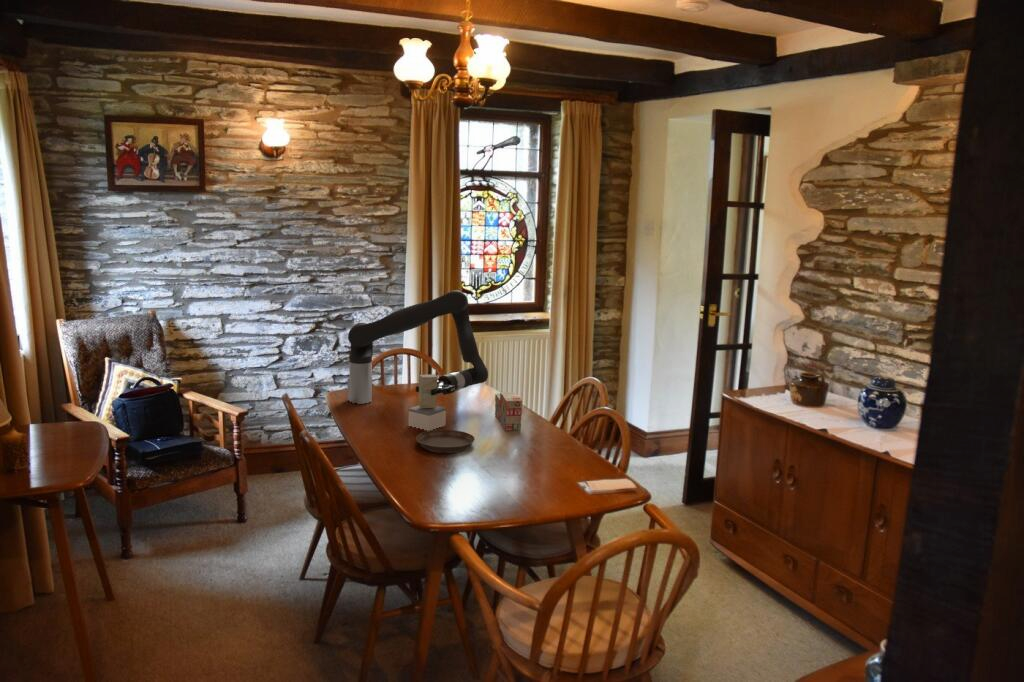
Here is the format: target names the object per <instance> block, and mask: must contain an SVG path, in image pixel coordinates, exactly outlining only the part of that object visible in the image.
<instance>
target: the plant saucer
mask: <svg viewBox="0 0 1024 682" xmlns="http://www.w3.org/2000/svg"><path fill="white" fill-rule="evenodd" d="M415 440H416V441H417V443H418V444H419V445H420V447H422V448H423V449H424V450H426V451H429V452H433V453H439V454H453V453H458V452H459V453H460V452H463V451H465V450H467V449H468V448H470V447H471V446H472V444H473V443H474V442H475V440H476V439H475V436H474V435H473V434H471V433H469V432H465V431H461V430H455V429H434V430H431V431H426V430H425V431H423V432H420V433H419V434H417V436H416V437H415Z"/></svg>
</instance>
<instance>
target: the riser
mask: <svg viewBox="0 0 1024 682" xmlns="http://www.w3.org/2000/svg"><path fill="white" fill-rule="evenodd" d="M446 417H447V408H446V407H444V406H440V405H436V407H435V408H421V407H420V406H419V405H418V404H417V405H416V406H412V407H409V408H408V427H410V426H412V427H411V428H414V427H416V428H415V429H418V428H420V429H419V430H422V429H424V430H423V431H426V430H427V431H430V430H431V431H432V430H433V429H434V430H437V429H439V427H440V428H442V427H445V426H446V425H447V424H446V420H447V419H446ZM436 428H437V429H436Z"/></svg>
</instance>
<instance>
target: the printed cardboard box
mask: <svg viewBox="0 0 1024 682" xmlns="http://www.w3.org/2000/svg"><path fill="white" fill-rule="evenodd" d="M494 402H495V403H494V407H495V409H494V410H495V411H494V416H495V415H496V416H495V417H497V418H496V419H497V421H498V420H499V421H498V422H499V424H500V423H501V424H500V426H501V427H502V429H503V431H504V430H505V431H504V432H514V431H513V430H520V431H521V429H522V428H521V427H522V412H523V411H522V408H523V399H521V397H520V396H519V395H518V393H516V392H515V391H510V392H509V391H508V392H507V391H501V392H500V393H495V397H494Z"/></svg>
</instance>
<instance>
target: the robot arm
mask: <svg viewBox="0 0 1024 682" xmlns="http://www.w3.org/2000/svg"><path fill="white" fill-rule="evenodd" d="M469 312H470V311H469V299H468V297H467V295H466V294H465V293H464V292H462V291H461V290H456V289H455V290H451V291H448V292H447V293H445V294H442V295H440V296H438V297H436V298H433V299H432V300H428V301H427V300H426V301H424V302H420V303H416V304H413V305H408V306H406V307H404V308H403V307H402V308H401V309H398V310H395V311H393V312H392V313H389V314H387V315H386V316H384V317H382V318H380V319H378V320H376V321H372V322H368V323H366V322H357V323H355V324H354V325H353V326H352V327H351V328H350V330H349V332H348V335H347V337H348V338H347V339H348V342H349V343H350V352H349V357H348V358H349V365H348V367H349V369H348V371H349V375H348V376H349V378H347V401H348V400H349V401H350V402H349V401H348V402H349V403H351V402H352V403H351V404H354V403H357V404H356V405H365V403H366V404H369V402H370V403H372V389H373V388H372V387H373V385H372V384H373V372H372V371H373V353H374V350H373V349H374V347H373V346H374V342H376V341H378V340H380V339H383V338H385V337H389V336H392V335H397V334H400V333H405V332H406V331H407V332H408V331H410V330H413V329H415V328H418V327H421V326H423V325H425V324H427V323H429V322H430V321H432V320H434V319H435V318H439V317H443V316H447V315H448V314H451V316H452V319H453V321H454V324H455V327H456V328H455V329H456V334H457V342H458V345H459V350H460V354H461V357H462V361H463V362H464V363H469V364H471V365H472V367H470V368H466V369H463V370H459V371H457V372H450V373H446V374H443V375H441V376H439V377H437V388H435V389H432V390H431V395H436V394H437V395H444V396H446V395H449V394H453V393H455V392H458V391H460V390H463V389H465V388H468V387H470V386H474V385H478V384H482V383H485V382H486V381H487V380H488V378H489V370H488V368H487V365H486V364H485V363H484V361H483V360H482V358H481V355H480V353H479V349H478V346H477V342H476V338H475V336H474V332H473V329H472V324H471V320H470V313H469ZM415 393H419V385H416V386H415Z"/></svg>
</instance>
